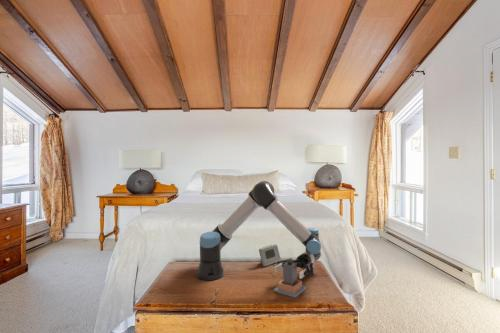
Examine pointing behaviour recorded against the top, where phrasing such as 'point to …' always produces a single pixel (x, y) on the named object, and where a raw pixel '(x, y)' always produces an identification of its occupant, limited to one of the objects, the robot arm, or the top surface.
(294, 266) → the bottle
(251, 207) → the robot arm
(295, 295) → the end holder
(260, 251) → the digital clock
